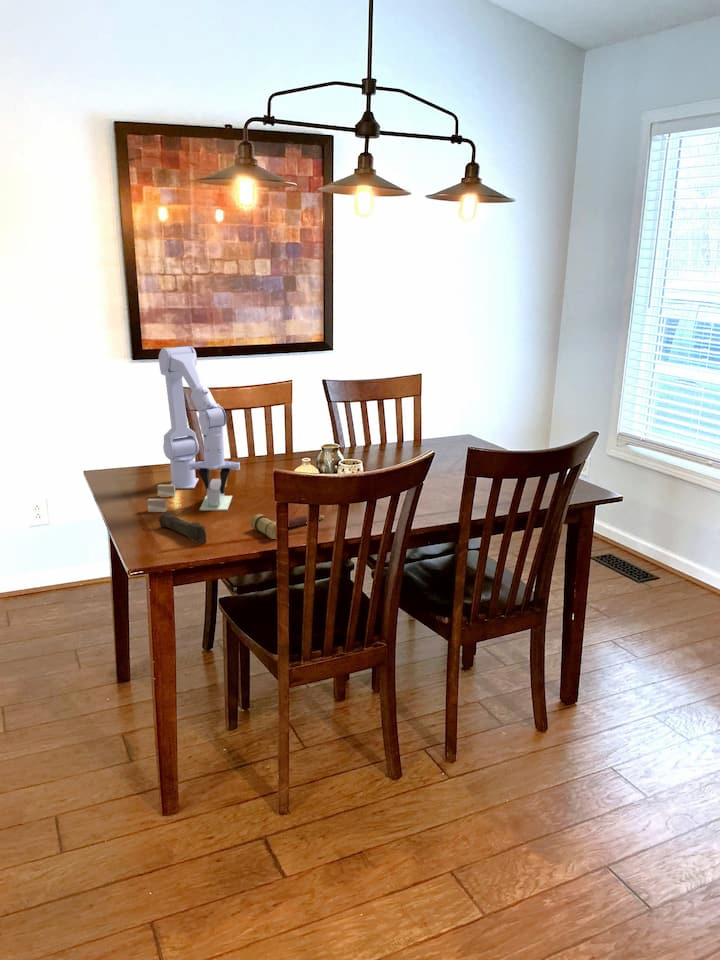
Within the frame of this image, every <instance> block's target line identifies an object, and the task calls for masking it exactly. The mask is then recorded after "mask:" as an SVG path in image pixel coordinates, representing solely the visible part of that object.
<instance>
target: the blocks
mask: <svg viewBox="0 0 720 960" xmlns="http://www.w3.org/2000/svg"><path fill="white" fill-rule="evenodd" d="M175 495H176V488H175V485H170V484H158V485H157V497H158V496H160V497H159V498H148V499H147V501H146V502H147V512H148V513H160V512H161V513H167V511H168V510H167V509H168V507H167V499H166V498H162V497H161V496H172V497H171V498H175V497H176V496H177V495H176V496H175ZM166 510H167V511H166Z"/></svg>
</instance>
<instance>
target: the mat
mask: <svg viewBox="0 0 720 960" xmlns="http://www.w3.org/2000/svg"><path fill="white" fill-rule="evenodd" d="M232 498H233V495H224V497H223V499H222V501H221V504H220V506H208V502H207V495H205V497H204V499H203V501H202V503H201V506H200V507H199V511H228V510H229V507H230V504H231V502H232V500H233V499H232Z"/></svg>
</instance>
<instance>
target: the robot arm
mask: <svg viewBox="0 0 720 960" xmlns="http://www.w3.org/2000/svg"><path fill="white" fill-rule="evenodd" d="M197 362H198V361H197V352H196V349H195V348H194V347H193V346H191V345H187V346H178V347H163V348H161V350H160V351H159V354H158V363H159V370H160V375H163V376H164V377H165V384H166V385H165V386H166V393H167V394H166V395H167V401H168V409H169V410H168V411H169V417H170V427H171V428H170V429H169V430H168V431H167V432H166V433H165V434H164V435H163V446H162V448H163V454H164V456H165V457H166V458H167V459H168V460H170V461H169V462H170V476H171V479H170V480H171V482H170V484H169V485H175V489H194V488H195V487H196V485H197V483H198V482H199V478H198V477H196V470H199V471H198V474H199V477H200V478H201V480H202V481H203V484H204V486H205V489H206V491H207V488H208V486H209V484H210V482H211V480H210V478H211V477H210V475H211V471H210V470H218V471H219V470H220V472H219V474H220V475H219V476H220V479H221V494H224V495H225V490H226V489H225V488H226V484H227V481H228V477H229V474H230V471H231V470H235V471H239V470H241V465H240V464H241V463H240V462H239V461H237V462H236V461H228V460H225V451H224V450H225V447H224V427H225V426H226V424H227V414H226V411H225V409H224V407H223V406H220V404H219V403H217V402H216V400H215V399H214V397H213V394H212V393H211V391H210V389H209V388H208V387H206V386H204V384H203V381H202V379H201V376H200V374H199V370H198V369H197ZM183 378H184V381H185V382H186V383H187V385H188V387H189V389H190V390H191V393H190V398H191V400H192V403H193V404H194V406H195V408H196V411H197V412H198V423H199V426H200V432H201V434H202V438H203V439H202V440H203V456H204V460H203V461H202V460H201V461H195V459H196V455H197V454H199V451H200V445H199V441H198V439H197V433H196V432H195V431H194V430H192V429H191V428H190V427H188V419H187V410H186V409H187V408H186V402H185V401H186V400H185V399H186V398H185V392H184V384H183V383H184V382H183Z"/></svg>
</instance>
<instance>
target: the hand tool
mask: <svg viewBox="0 0 720 960" xmlns="http://www.w3.org/2000/svg"><path fill="white" fill-rule="evenodd" d="M158 522H159V525H160V526H161V527H164V528H165V529H166V528H168V529H170V530H173V531H175V532H177V533H179V534H182V535H184V536H186V537H188V538H189V540H190V539H191V540H190V541H192V540H193V542H195V541H196V542H195V543H200V544H201V543H202V544H206V543H207V532H206V528H205V526H203V525H202V524H200V523H198V522H191V523H190V522H188V521H185V520H184V519H181V518H179V517H176V516H174V515H172V514H171V512H162V514H161V515H160V516H158Z"/></svg>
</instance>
